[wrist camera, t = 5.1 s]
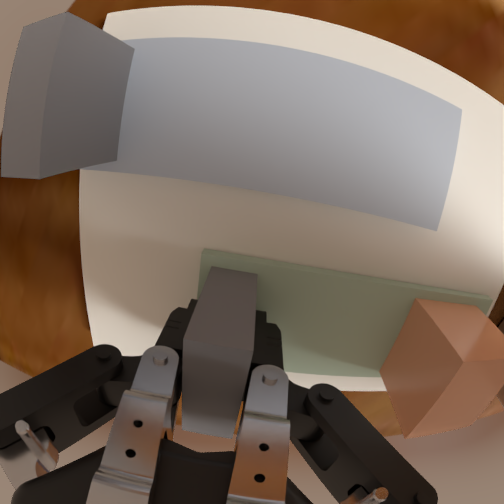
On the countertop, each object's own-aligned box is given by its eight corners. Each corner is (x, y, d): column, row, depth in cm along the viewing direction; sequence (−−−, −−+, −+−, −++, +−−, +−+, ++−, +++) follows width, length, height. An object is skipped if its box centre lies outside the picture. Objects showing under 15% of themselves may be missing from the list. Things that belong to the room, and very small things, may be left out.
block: (476, 305, 13) (522, 356, 8) (440, 370, 15) (470, 425, 10) (415, 297, 13) (463, 362, 8) (379, 371, 14) (404, 438, 10)
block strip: (488, 295, 13) (539, 346, 8) (447, 369, 15) (480, 426, 10) (204, 248, 13) (166, 321, 8) (194, 350, 15) (170, 432, 10)
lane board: (528, 133, 10) (540, 135, 9) (439, 377, 17) (445, 387, 16) (118, 20, 10) (107, 13, 9) (101, 335, 17) (93, 346, 16)
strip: (455, 109, 10) (539, 109, 4) (430, 227, 12) (503, 278, 7) (96, 47, 9) (18, 18, 4) (79, 167, 12) (-7, 191, 6)
